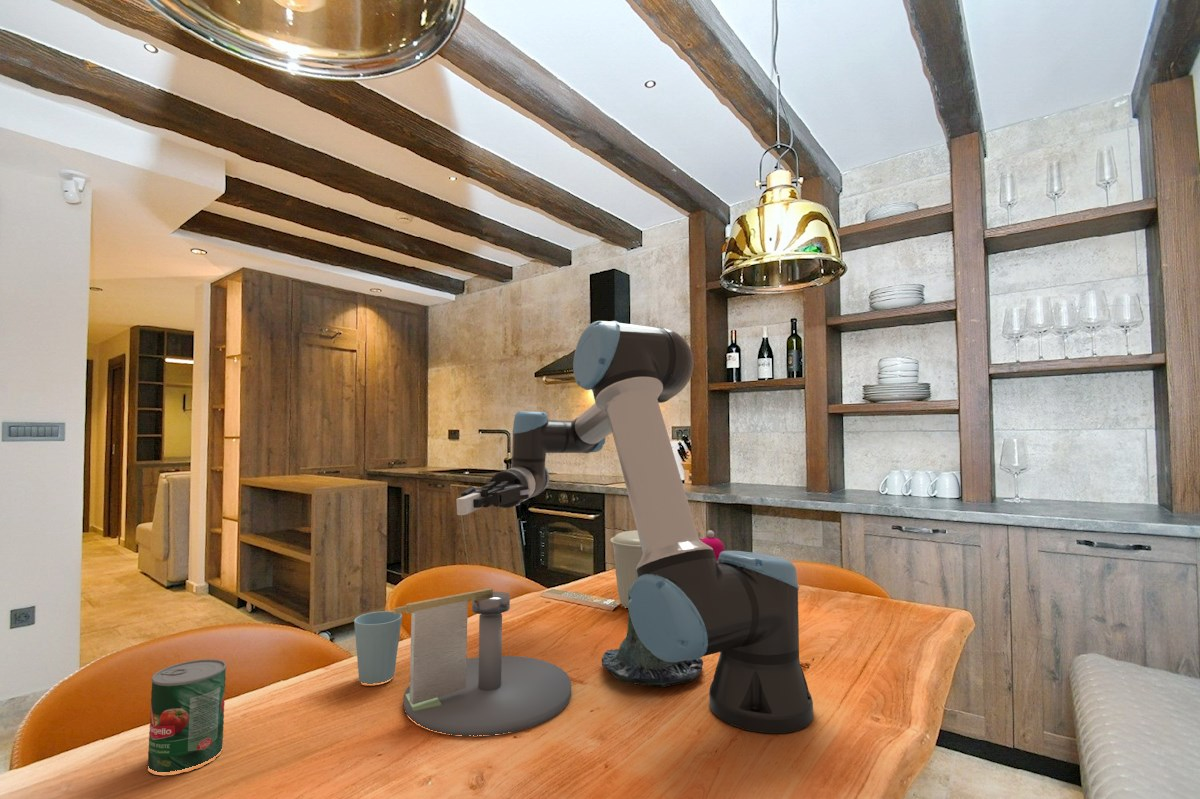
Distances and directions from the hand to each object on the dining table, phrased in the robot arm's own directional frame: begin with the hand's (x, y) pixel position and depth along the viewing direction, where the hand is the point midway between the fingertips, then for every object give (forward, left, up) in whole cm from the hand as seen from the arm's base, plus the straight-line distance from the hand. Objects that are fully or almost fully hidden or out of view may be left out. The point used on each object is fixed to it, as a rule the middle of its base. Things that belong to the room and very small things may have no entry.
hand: (460, 506), depth 97 cm
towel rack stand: (-7, +2, -27) cm, 28 cm away
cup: (+9, +12, -30) cm, 33 cm away
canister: (+27, -51, -30) cm, 65 cm away
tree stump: (-7, -33, -30) cm, 45 cm away
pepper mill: (+13, -60, -30) cm, 68 cm away
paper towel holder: (-5, -4, -30) cm, 30 cm away
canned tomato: (-7, +36, -30) cm, 47 cm away
